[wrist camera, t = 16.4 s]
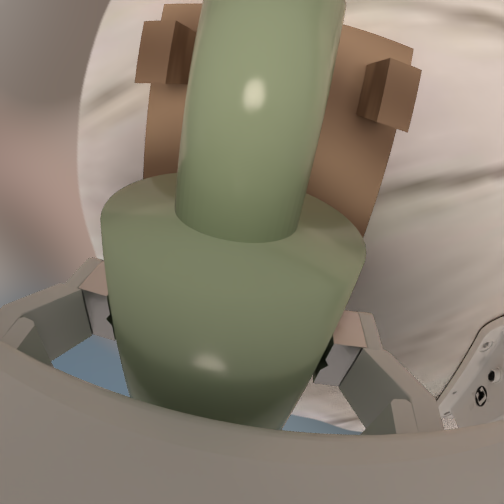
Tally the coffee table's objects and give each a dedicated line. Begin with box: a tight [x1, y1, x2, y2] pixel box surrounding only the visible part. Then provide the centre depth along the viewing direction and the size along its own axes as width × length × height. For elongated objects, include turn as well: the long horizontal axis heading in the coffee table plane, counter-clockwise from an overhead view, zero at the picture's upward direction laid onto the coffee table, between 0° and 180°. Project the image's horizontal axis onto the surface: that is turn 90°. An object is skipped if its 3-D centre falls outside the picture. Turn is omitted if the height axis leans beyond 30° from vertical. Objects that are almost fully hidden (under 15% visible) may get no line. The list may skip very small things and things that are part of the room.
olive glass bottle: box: [101, 0, 366, 430], centre depth 9 cm, size 6×6×17 cm
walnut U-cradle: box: [135, 4, 422, 237], centre depth 16 cm, size 22×14×5 cm, turn 170°
